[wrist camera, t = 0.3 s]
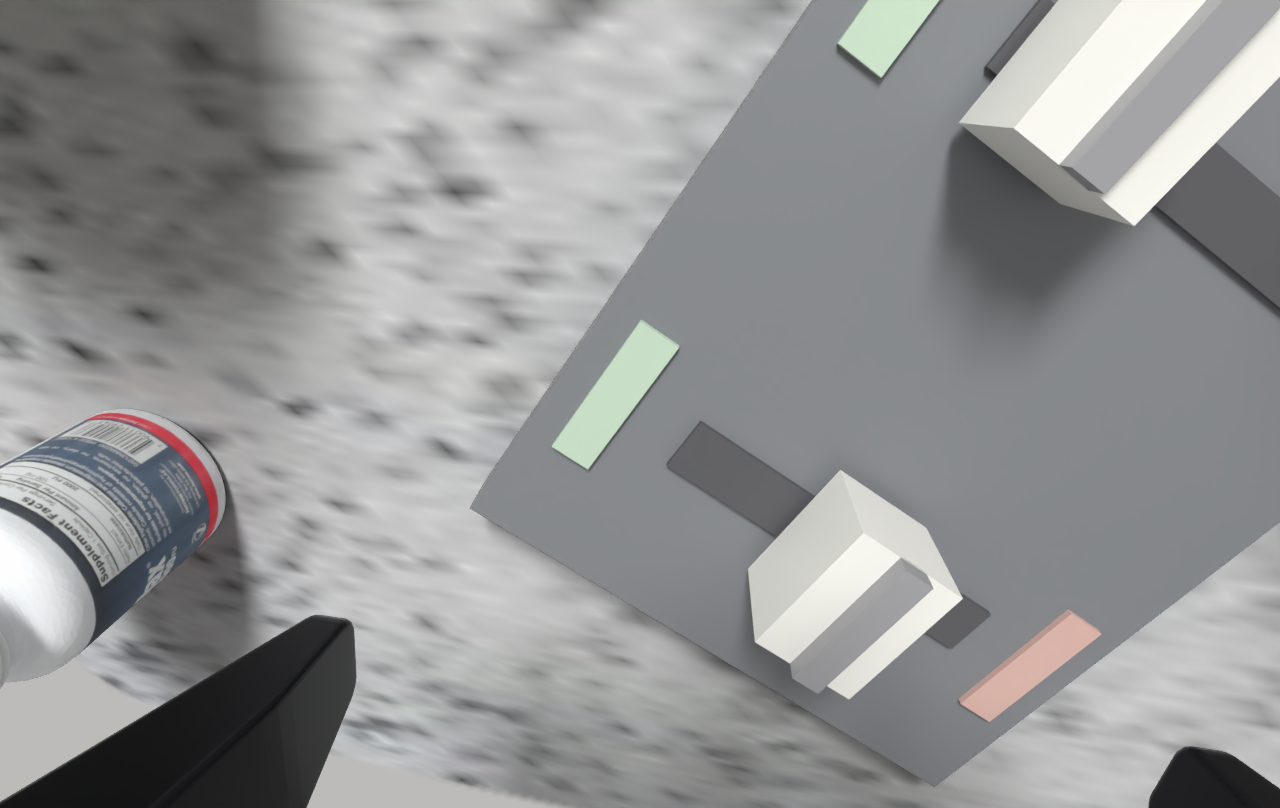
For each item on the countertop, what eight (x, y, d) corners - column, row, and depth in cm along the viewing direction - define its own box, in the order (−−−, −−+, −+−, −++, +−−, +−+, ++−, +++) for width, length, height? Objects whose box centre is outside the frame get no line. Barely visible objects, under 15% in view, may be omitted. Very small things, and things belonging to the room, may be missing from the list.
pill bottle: (150, 566, 25) (-119, 794, 17) (40, 445, 23) (-317, 633, 15) (263, 510, 24) (31, 728, 15) (155, 377, 22) (-170, 543, 14)
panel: (1611, 196, 17) (1705, 206, 15) (921, 749, 25) (936, 792, 24) (1048, -348, 14) (1091, -405, 12) (484, 483, 22) (467, 512, 21)
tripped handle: (926, 527, 19) (970, 612, 16) (829, 620, 21) (852, 715, 18) (840, 469, 19) (868, 545, 16) (747, 568, 20) (756, 656, 17)
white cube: (1213, 36, 14) (1359, 18, 11) (1060, 203, 16) (1150, 230, 13) (1106, -60, 14) (1226, -106, 11) (958, 122, 15) (1025, 129, 12)
